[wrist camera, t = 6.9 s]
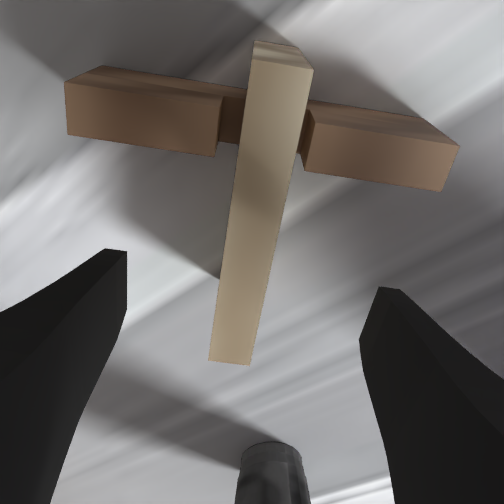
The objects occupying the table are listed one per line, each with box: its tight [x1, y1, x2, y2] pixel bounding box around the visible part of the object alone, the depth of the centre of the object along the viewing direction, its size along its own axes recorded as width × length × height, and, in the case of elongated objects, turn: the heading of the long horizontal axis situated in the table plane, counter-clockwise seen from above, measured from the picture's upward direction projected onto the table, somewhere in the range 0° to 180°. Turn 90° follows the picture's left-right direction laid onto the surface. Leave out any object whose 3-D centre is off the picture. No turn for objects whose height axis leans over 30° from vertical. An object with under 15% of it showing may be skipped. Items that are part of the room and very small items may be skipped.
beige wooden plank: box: [208, 40, 314, 366], centre depth 18 cm, size 2×12×6 cm, turn 171°
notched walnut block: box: [64, 66, 460, 192], centre depth 17 cm, size 14×2×4 cm, turn 81°
